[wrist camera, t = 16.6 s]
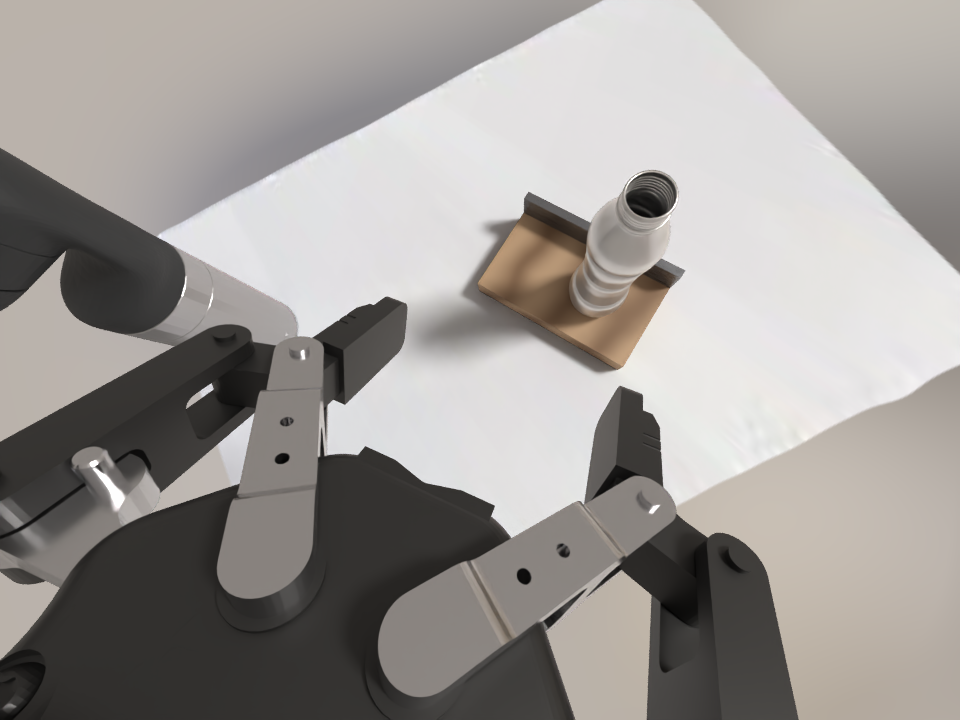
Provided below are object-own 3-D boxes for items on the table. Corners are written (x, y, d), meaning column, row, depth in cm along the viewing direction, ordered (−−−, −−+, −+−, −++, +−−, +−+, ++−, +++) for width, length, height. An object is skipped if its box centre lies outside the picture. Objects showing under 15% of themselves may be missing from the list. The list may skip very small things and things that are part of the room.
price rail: (523, 212, 47) (524, 198, 44) (530, 202, 47) (531, 187, 44) (669, 288, 43) (680, 277, 41) (676, 276, 44) (687, 266, 41)
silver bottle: (629, 278, 44) (715, 163, 24) (610, 330, 43) (684, 254, 24) (577, 262, 45) (619, 138, 25) (558, 312, 44) (586, 225, 25)
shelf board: (479, 290, 48) (477, 283, 46) (527, 217, 50) (527, 206, 47) (617, 369, 45) (623, 366, 42) (665, 288, 46) (673, 281, 44)
